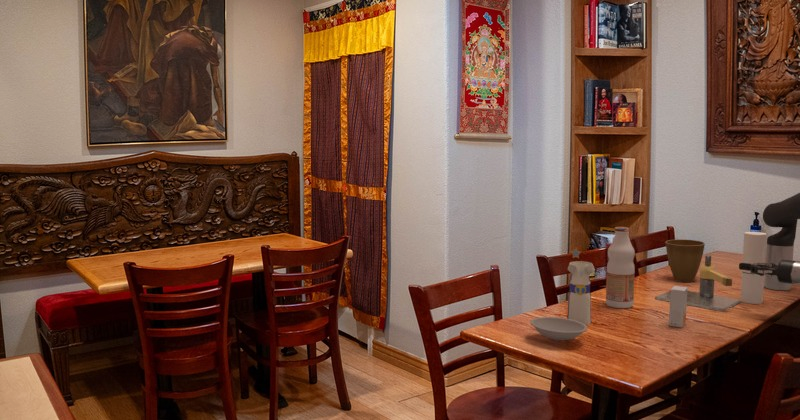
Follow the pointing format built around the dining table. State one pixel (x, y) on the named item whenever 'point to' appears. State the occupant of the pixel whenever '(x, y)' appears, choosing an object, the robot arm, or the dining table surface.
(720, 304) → the square base plate stand
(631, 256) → the fruit juice
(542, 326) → the dish
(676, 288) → the skincare box
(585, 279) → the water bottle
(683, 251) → the plant pot
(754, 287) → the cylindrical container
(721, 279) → the lever handle
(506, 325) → the dining table surface
